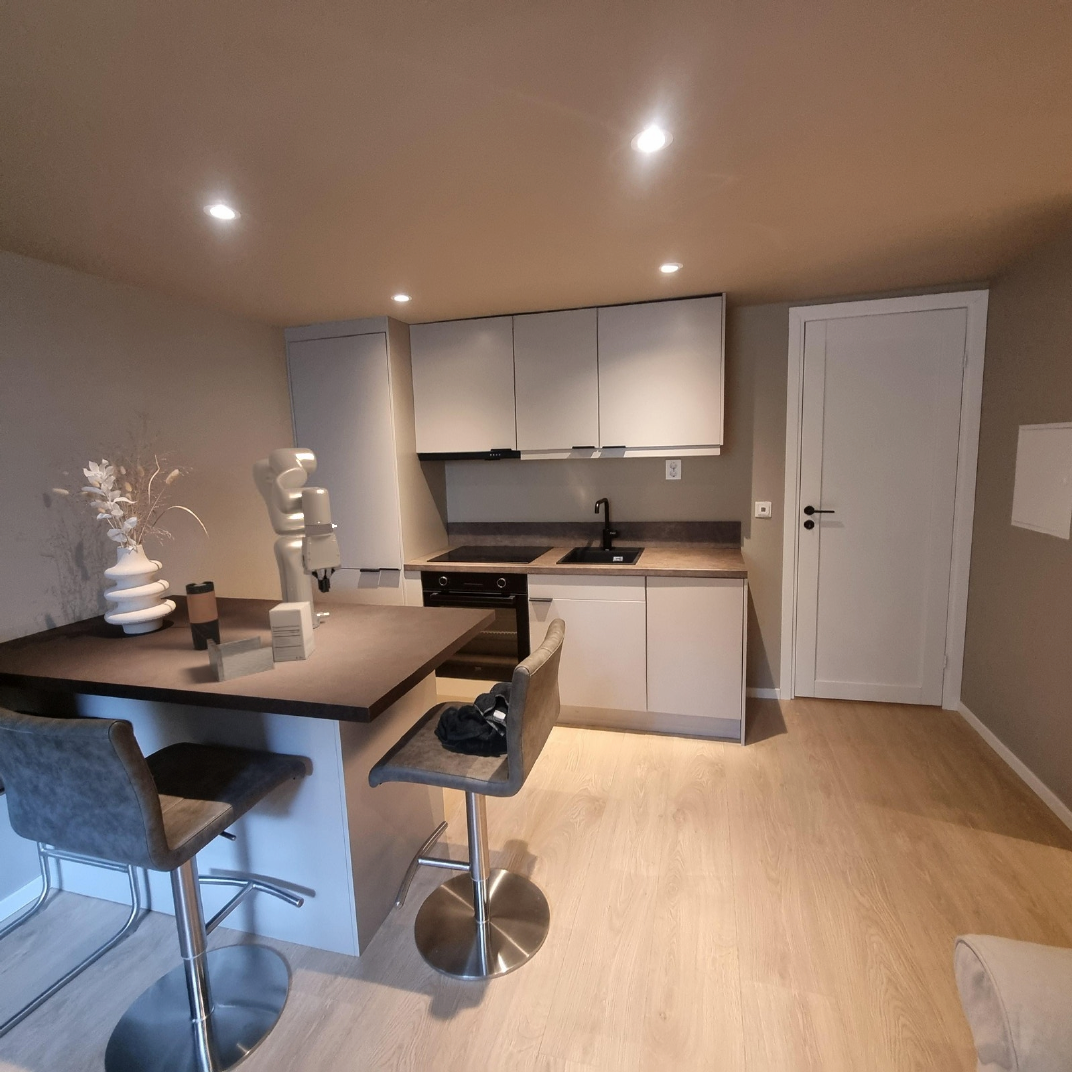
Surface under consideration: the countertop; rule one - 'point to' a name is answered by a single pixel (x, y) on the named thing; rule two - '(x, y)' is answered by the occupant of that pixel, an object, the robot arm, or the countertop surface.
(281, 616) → the supplement box
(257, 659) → the bracket
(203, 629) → the travel mug
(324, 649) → the countertop surface
